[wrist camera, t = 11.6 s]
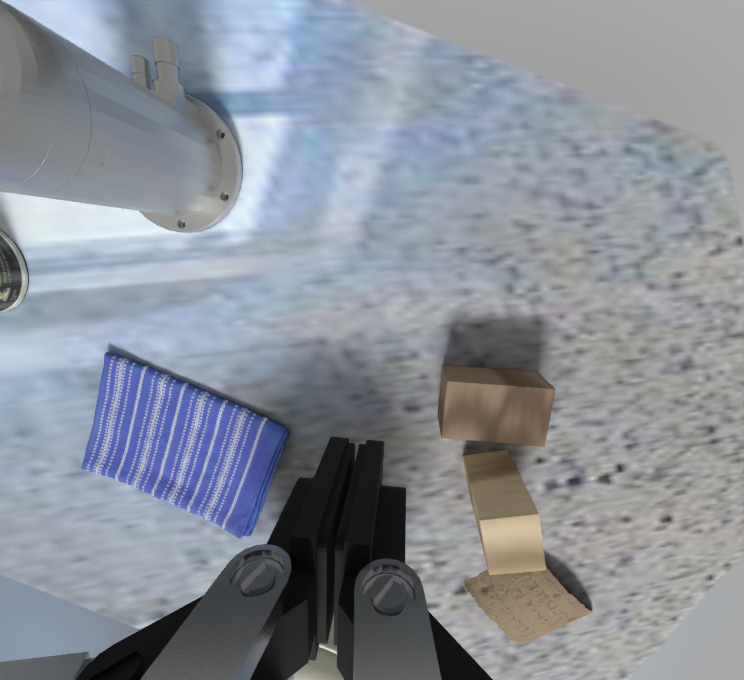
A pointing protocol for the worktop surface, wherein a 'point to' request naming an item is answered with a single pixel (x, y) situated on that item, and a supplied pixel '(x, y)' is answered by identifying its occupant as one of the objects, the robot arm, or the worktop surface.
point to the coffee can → (11, 274)
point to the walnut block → (494, 405)
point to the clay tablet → (525, 603)
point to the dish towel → (183, 444)
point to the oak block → (504, 514)
